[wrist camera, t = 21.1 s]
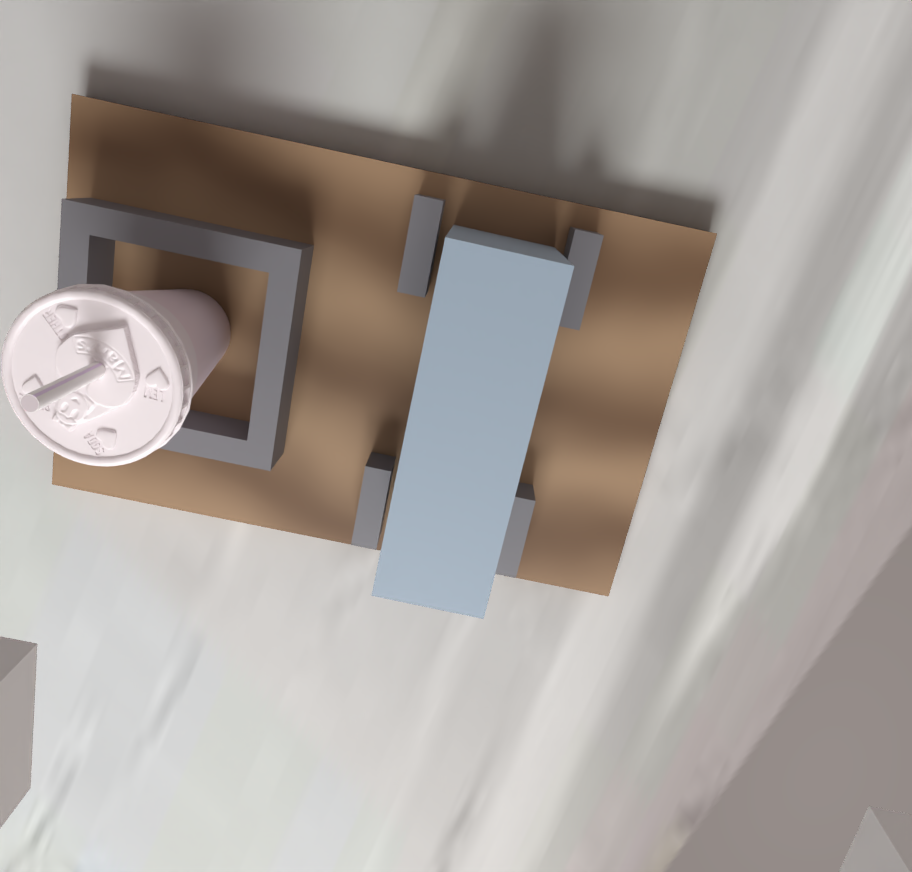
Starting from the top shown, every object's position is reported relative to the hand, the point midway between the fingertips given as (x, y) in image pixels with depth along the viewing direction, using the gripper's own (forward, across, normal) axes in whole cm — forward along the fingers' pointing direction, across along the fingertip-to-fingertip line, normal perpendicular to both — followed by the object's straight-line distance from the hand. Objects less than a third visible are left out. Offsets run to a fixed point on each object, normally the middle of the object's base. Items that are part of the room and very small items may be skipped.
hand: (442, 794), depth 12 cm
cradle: (+25, -13, 0) cm, 29 cm away
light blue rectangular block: (+26, 0, 0) cm, 26 cm away
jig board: (+27, -5, 0) cm, 27 cm away
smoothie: (+26, -13, 0) cm, 29 cm away
